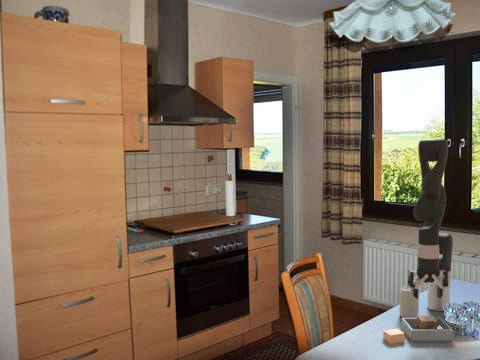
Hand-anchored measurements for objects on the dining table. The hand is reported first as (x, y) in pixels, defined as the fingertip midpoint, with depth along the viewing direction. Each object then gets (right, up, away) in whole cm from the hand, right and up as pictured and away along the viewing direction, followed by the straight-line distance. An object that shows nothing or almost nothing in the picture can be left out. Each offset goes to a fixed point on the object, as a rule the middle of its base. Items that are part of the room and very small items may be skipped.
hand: (427, 297), depth 181 cm
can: (0, -13, +20) cm, 24 cm away
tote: (0, -15, +1) cm, 15 cm away
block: (0, -14, +1) cm, 14 cm away
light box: (-14, -15, -3) cm, 21 cm away
